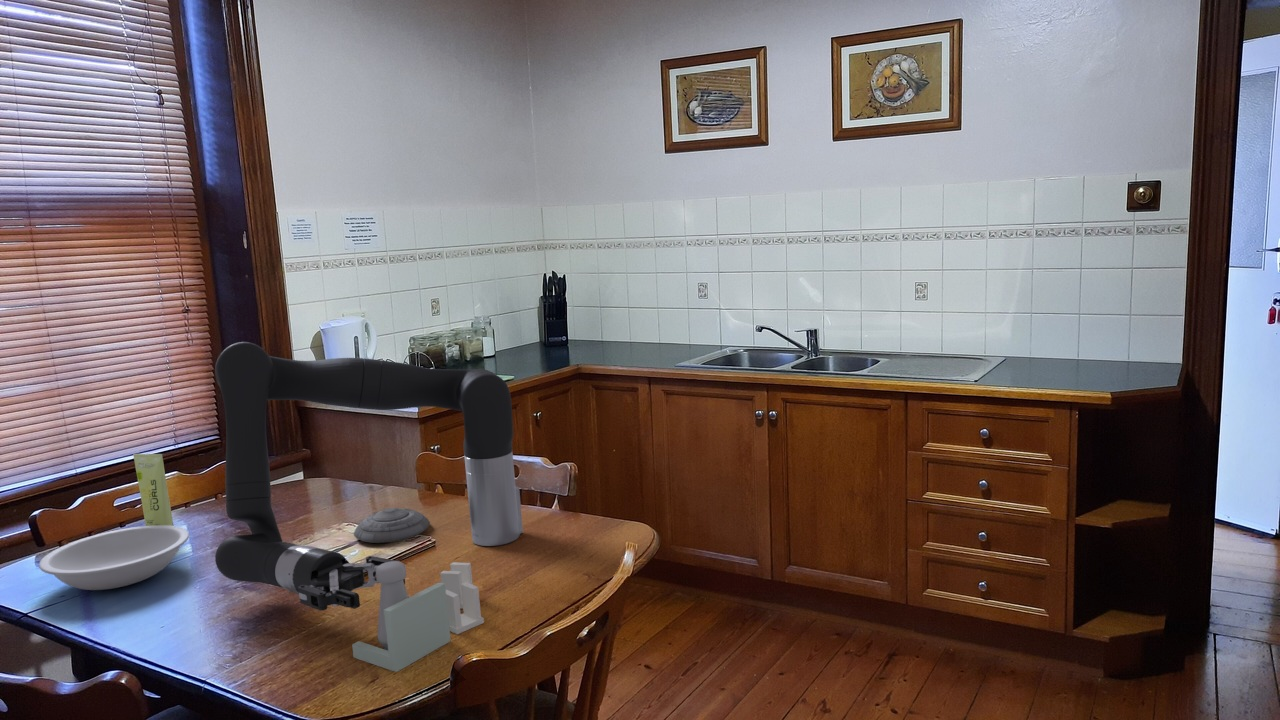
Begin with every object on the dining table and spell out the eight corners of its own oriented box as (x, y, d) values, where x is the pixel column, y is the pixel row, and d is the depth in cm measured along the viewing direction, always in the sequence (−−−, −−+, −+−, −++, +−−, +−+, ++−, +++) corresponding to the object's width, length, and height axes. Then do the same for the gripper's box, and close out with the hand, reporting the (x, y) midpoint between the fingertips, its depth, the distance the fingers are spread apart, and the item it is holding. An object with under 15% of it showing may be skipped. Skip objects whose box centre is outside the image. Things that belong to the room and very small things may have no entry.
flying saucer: (341, 537, 184) (338, 511, 183) (408, 517, 194) (405, 492, 193) (376, 554, 173) (372, 527, 172) (444, 532, 183) (441, 506, 182)
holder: (408, 628, 140) (402, 573, 138) (450, 640, 134) (444, 583, 133) (353, 657, 131) (346, 599, 130) (396, 672, 126) (389, 611, 124)
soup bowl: (134, 552, 182) (129, 520, 181) (222, 562, 173) (217, 530, 172) (13, 600, 161) (7, 565, 160) (107, 616, 151) (101, 579, 150)
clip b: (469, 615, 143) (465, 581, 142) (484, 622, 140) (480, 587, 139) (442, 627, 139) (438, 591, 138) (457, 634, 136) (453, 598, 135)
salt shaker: (408, 658, 130) (399, 572, 128) (372, 656, 131) (362, 571, 129) (425, 639, 135) (416, 556, 133) (390, 638, 137) (381, 556, 135)
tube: (144, 552, 181) (129, 458, 178) (147, 544, 186) (133, 453, 183) (175, 547, 184) (162, 454, 180) (177, 539, 188) (164, 448, 185)
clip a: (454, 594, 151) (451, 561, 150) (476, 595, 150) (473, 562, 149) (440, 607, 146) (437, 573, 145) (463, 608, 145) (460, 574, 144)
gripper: (268, 565, 136) (338, 584, 127) (346, 534, 148) (414, 549, 139) (275, 612, 137) (344, 634, 128) (351, 577, 149) (419, 595, 140)
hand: (381, 590), depth 133 cm, fingers open, 8 cm apart
